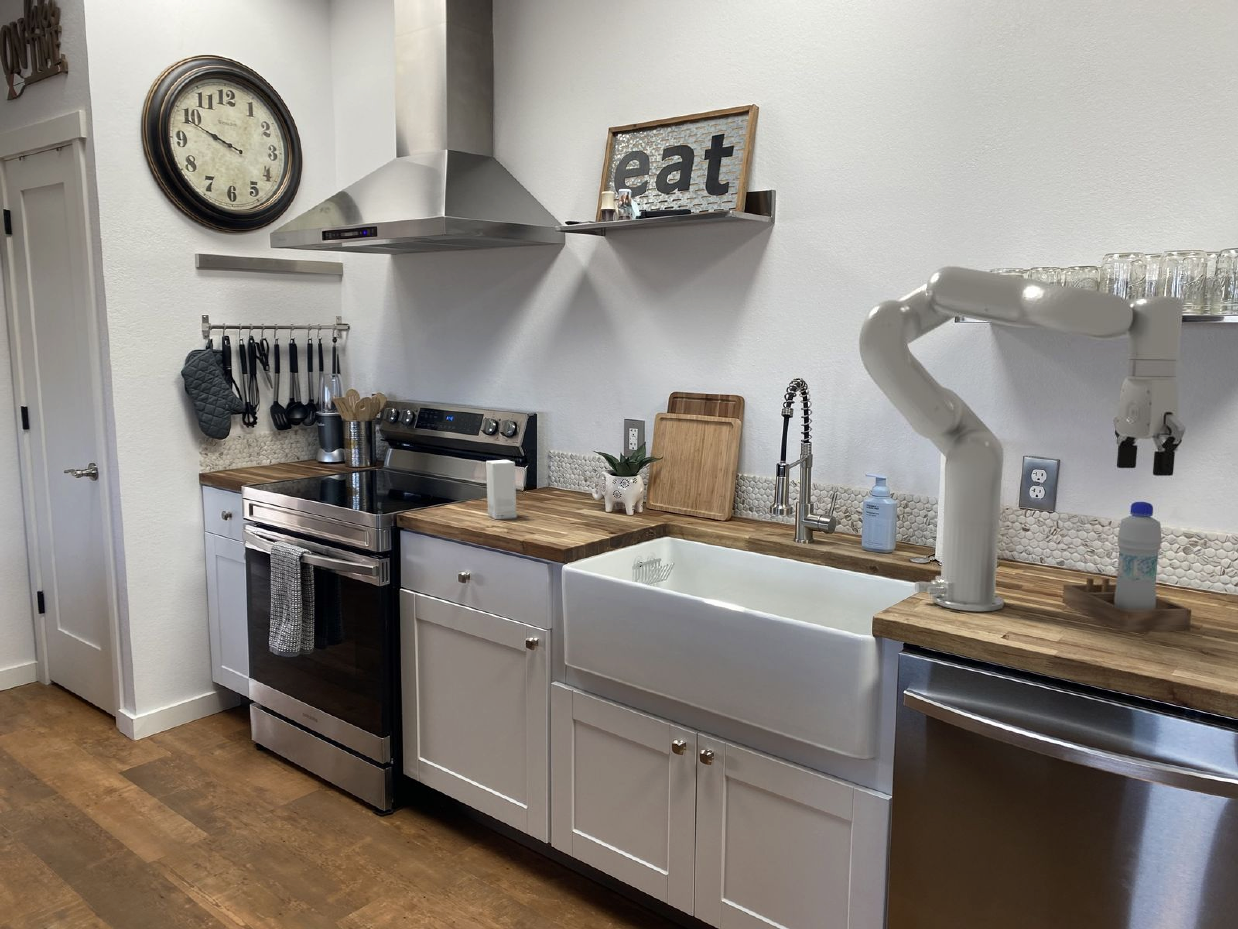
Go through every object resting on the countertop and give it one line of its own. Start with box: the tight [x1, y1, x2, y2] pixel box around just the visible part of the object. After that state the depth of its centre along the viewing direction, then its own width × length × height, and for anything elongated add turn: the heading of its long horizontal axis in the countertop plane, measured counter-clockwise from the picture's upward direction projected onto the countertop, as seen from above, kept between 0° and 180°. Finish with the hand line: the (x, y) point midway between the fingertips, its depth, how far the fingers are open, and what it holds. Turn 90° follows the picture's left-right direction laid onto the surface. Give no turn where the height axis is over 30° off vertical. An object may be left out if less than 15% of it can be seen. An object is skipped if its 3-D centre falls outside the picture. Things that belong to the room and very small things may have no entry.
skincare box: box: [485, 459, 518, 520], centre depth 259 cm, size 8×7×16 cm
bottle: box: [1114, 501, 1163, 610], centre depth 162 cm, size 7×7×20 cm
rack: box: [1062, 577, 1192, 633], centre depth 166 cm, size 12×18×5 cm, turn 5°
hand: (1143, 471), depth 160 cm, fingers open, 9 cm apart
